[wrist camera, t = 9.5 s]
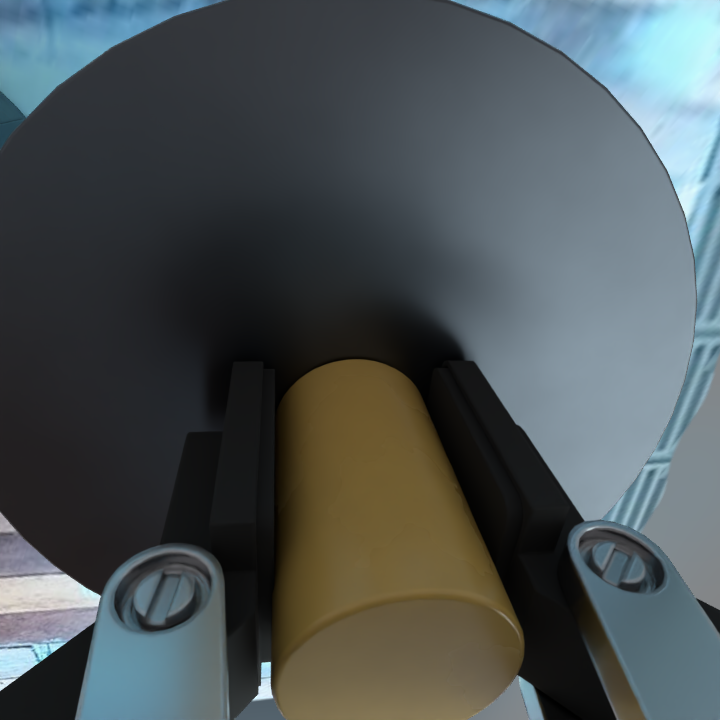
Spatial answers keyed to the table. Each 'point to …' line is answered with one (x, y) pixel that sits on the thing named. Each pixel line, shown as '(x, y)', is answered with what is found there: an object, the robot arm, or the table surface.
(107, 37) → the table surface
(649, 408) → the lid
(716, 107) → the table surface
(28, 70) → the table surface
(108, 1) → the table surface
